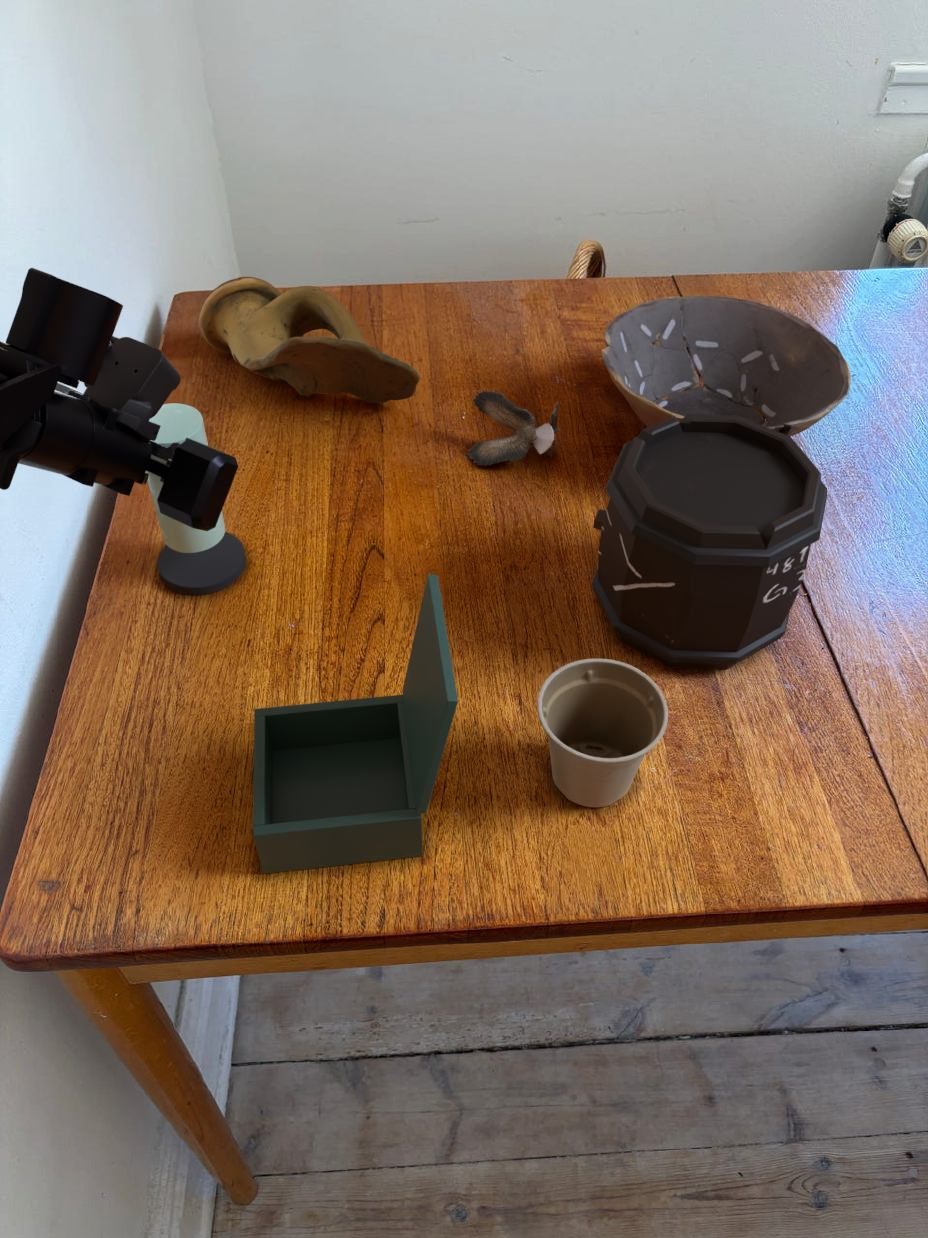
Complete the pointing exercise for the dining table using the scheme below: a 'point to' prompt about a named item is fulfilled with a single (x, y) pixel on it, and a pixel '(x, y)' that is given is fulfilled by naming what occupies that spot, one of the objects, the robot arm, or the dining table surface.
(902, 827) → the dining table surface
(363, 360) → the brown looped sculpture
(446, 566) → the dining table surface
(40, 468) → the robot arm
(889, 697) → the dining table surface
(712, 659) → the black polygonal canister
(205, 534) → the pale green cylinder
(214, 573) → the rubber mat
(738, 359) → the bowl
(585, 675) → the flower pot
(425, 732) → the box lid
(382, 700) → the box
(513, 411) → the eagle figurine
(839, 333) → the dining table surface
